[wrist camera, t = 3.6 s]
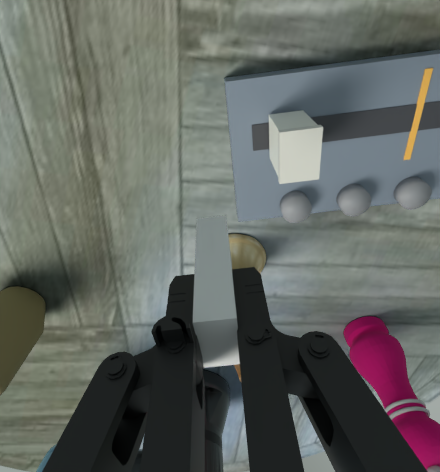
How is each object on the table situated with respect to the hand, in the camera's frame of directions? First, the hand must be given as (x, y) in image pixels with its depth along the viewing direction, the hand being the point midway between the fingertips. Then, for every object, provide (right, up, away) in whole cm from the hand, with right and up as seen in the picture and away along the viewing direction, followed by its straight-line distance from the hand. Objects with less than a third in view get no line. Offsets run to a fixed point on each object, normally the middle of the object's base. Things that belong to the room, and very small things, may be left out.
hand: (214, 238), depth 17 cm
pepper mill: (+23, -14, +33) cm, 43 cm away
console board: (+13, +10, +15) cm, 22 cm away
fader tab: (+6, +9, +12) cm, 17 cm away
